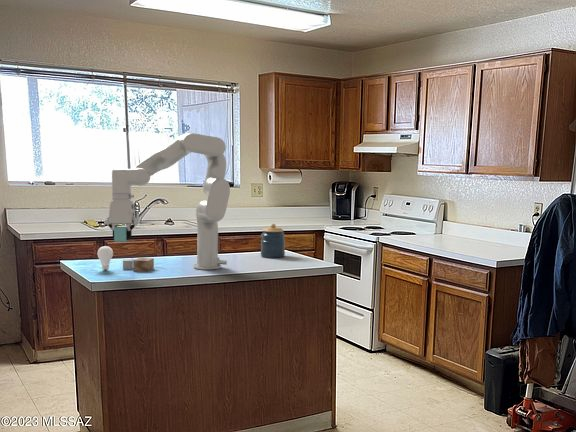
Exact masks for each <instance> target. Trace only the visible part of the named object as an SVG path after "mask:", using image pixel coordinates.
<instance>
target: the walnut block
mask: <svg viewBox="0 0 576 432" xmlns="http://www.w3.org/2000/svg"><path fill="white" fill-rule="evenodd" d="M154 260H155V259H154V257H137V258H135V259H133V269H132V270H133V272H147V273H148V272H151V271H153V270H154V268H155V261H154Z"/></svg>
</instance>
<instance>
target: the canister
mask: <svg viewBox="0 0 576 432" xmlns="http://www.w3.org/2000/svg"><path fill="white" fill-rule="evenodd" d="M262 231H263V232H262V233H261V234H260V236H261V240H260V256H261V257H262V258H267V259H280V258H281V259H282V258H284V257H285V255H286V254H285V253H286V252H285V249H286V248H285V247H286V245H285V244H286V239H285V236H286V234H285V233H284V231H285V230H284V229H282V227H277V226H276V224H275V223H271V224H270V227H269V226H268V227H265V228H263V229H262Z"/></svg>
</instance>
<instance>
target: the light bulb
mask: <svg viewBox="0 0 576 432" xmlns="http://www.w3.org/2000/svg"><path fill="white" fill-rule="evenodd" d="M113 256H114V251H113V249H112V248H111V247H110V246H107V245H104V246H101V247H99V248H98V250H97V257H98V260H100V261H99V262H100V264H101V269H102V270H103V271H104V272H105V271H108V270H109V268H110V262H111V260H112V258H113Z"/></svg>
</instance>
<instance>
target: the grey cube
mask: <svg viewBox="0 0 576 432" xmlns="http://www.w3.org/2000/svg"><path fill="white" fill-rule="evenodd" d="M133 260H134V259H133V258H130V259H129V258H127V259H123V260H122V270H133Z"/></svg>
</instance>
